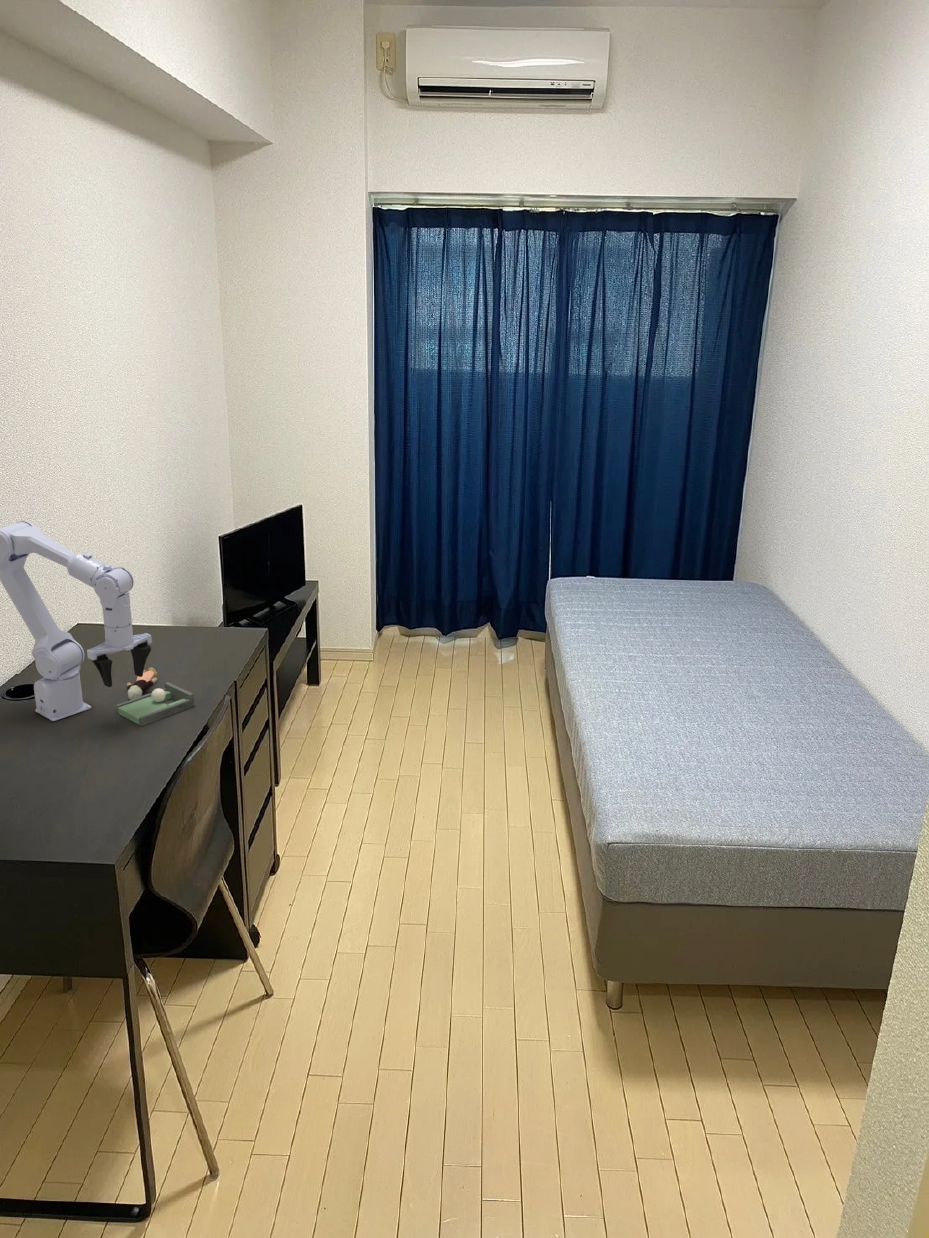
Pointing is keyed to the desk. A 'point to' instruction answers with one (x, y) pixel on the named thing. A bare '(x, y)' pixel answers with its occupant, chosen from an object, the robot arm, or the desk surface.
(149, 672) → the grandmother figurine
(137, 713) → the green walled tray
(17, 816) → the desk surface
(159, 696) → the ball
